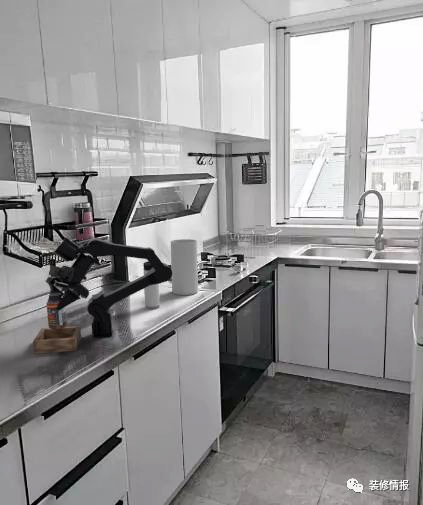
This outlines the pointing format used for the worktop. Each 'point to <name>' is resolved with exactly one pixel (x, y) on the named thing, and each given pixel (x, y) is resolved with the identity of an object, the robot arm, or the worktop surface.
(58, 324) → the supplement bottle
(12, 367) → the worktop surface
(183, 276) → the cylinder vase
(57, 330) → the box
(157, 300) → the travel mug
